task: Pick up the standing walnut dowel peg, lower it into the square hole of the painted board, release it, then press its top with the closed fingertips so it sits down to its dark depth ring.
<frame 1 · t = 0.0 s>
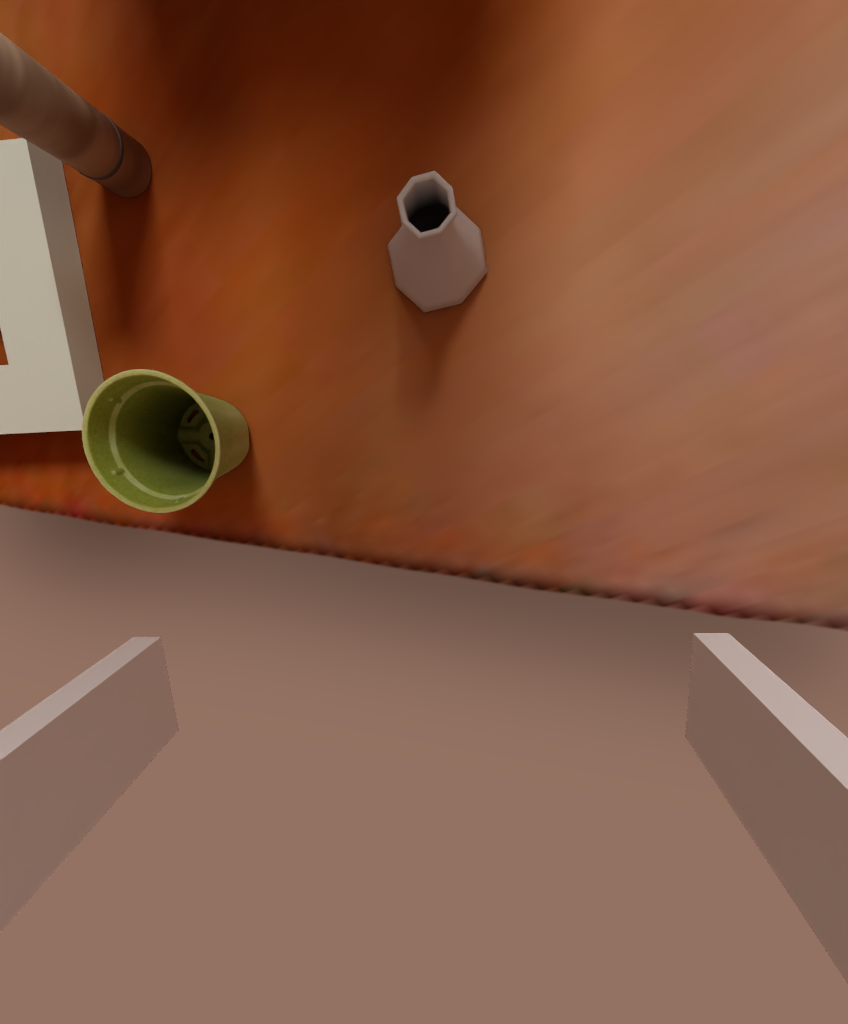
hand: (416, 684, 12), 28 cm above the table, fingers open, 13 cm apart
peg: (126, 167, 36), on the table
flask: (437, 260, 36), on the table
plant pot: (217, 434, 40), on the table
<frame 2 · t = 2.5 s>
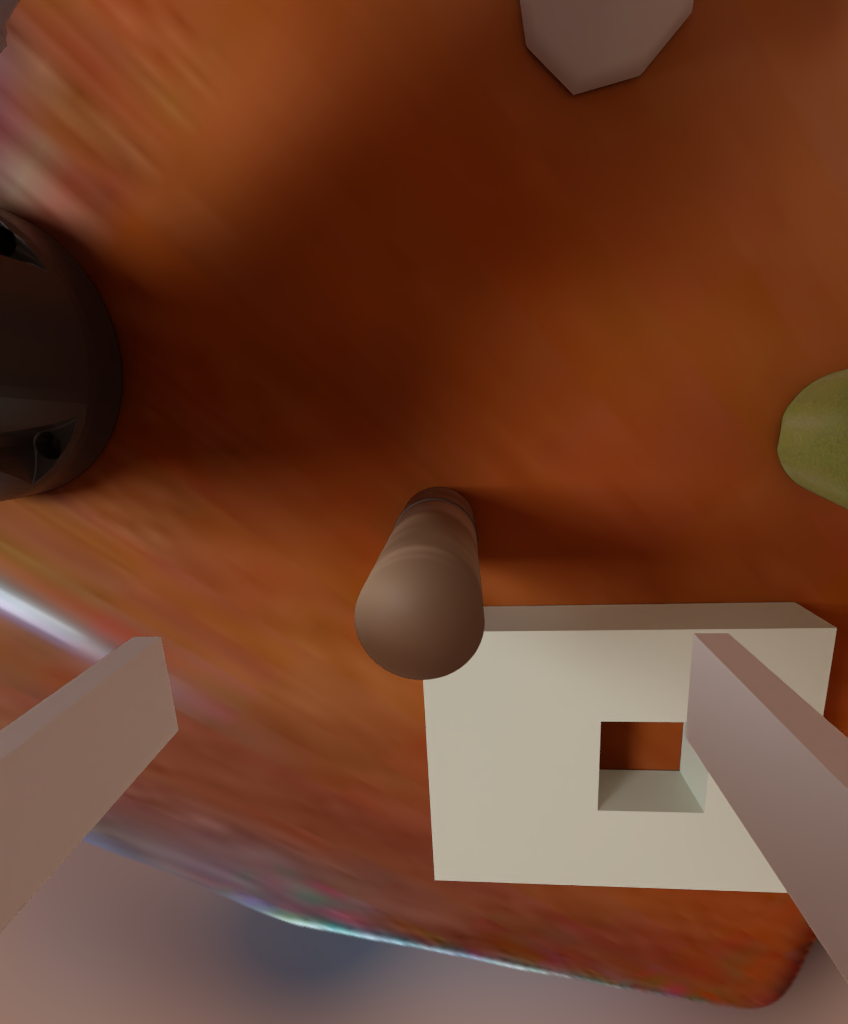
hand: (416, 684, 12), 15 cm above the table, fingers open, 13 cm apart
peg: (438, 522, 26), on the table
board: (599, 729, 28), on the table
plant pot: (835, 431, 24), on the table
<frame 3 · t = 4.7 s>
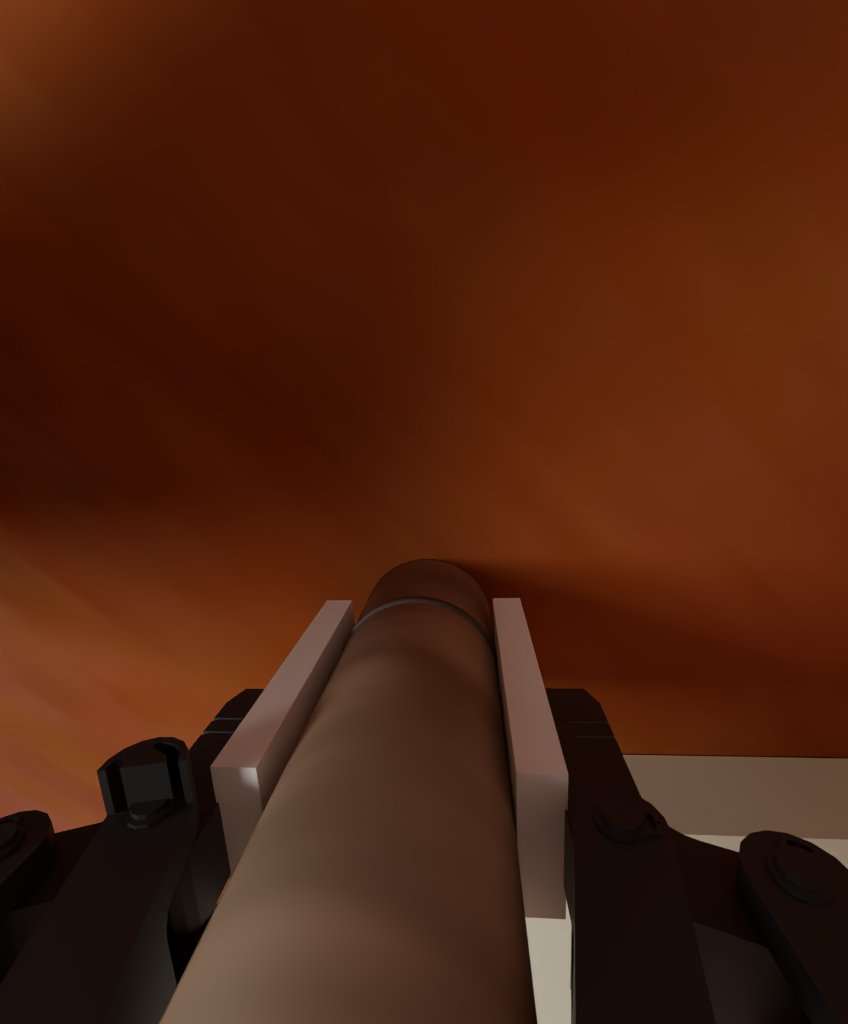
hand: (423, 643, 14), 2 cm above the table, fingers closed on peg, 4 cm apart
peg: (428, 618, 15), on the table, touching gripper
board: (690, 944, 17), on the table
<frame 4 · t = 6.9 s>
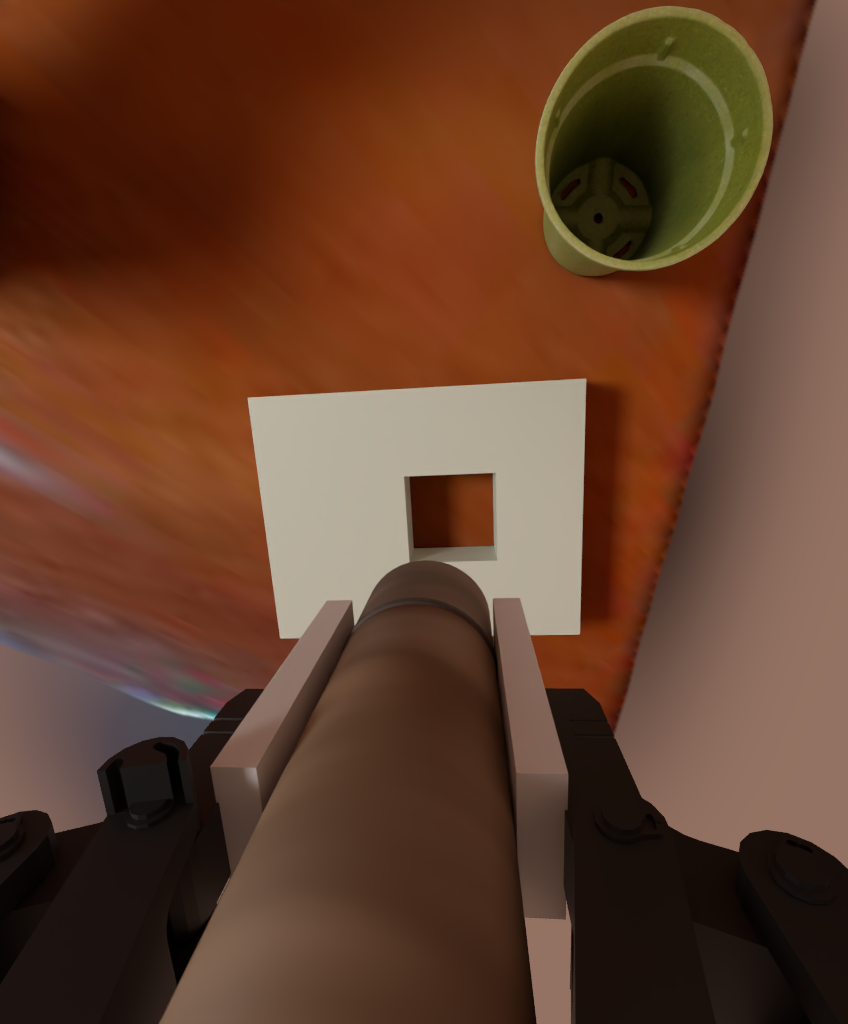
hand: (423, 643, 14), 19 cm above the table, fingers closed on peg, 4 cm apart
peg: (427, 619, 15), point 18 cm above the table, touching gripper
board: (423, 509, 33), on the table
plant pot: (593, 221, 28), on the table
when the fingers open (4 cm above the table, at t = 9.3 s): peg drops 2 cm, resting in board.
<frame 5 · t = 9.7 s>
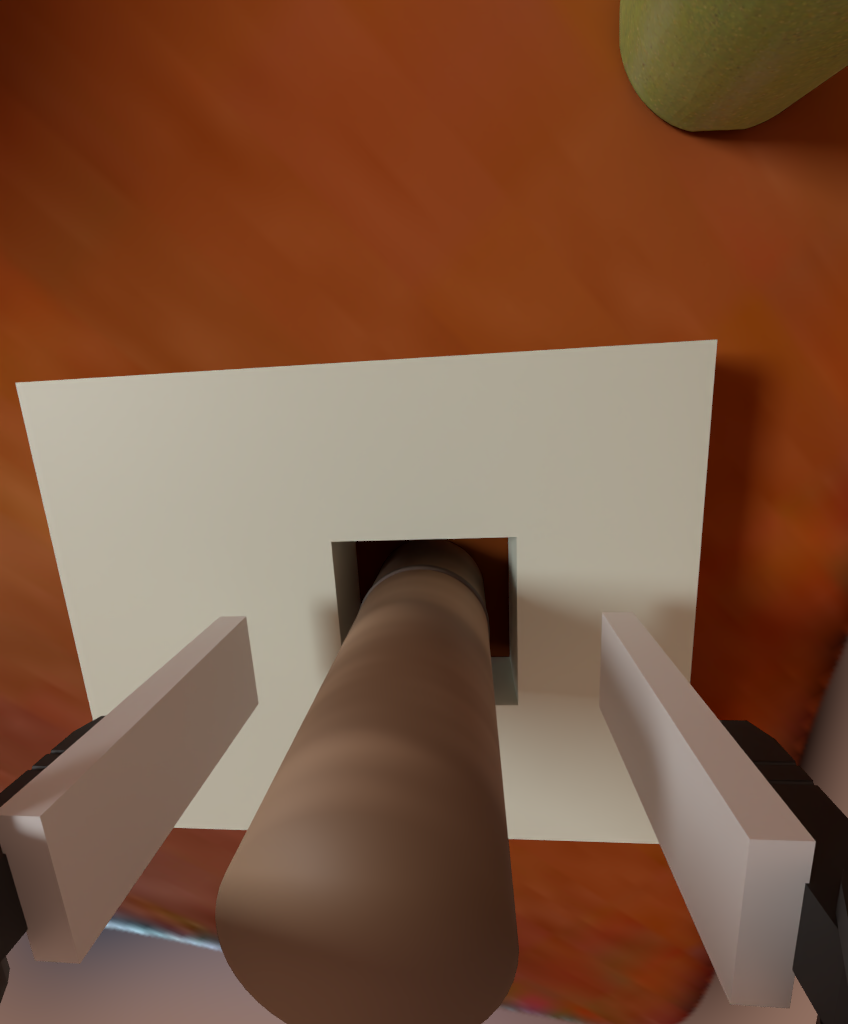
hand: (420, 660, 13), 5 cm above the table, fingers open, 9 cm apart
peg: (430, 589, 18), resting in board
board: (380, 589, 18), on the table
plant pot: (722, 17, 14), on the table
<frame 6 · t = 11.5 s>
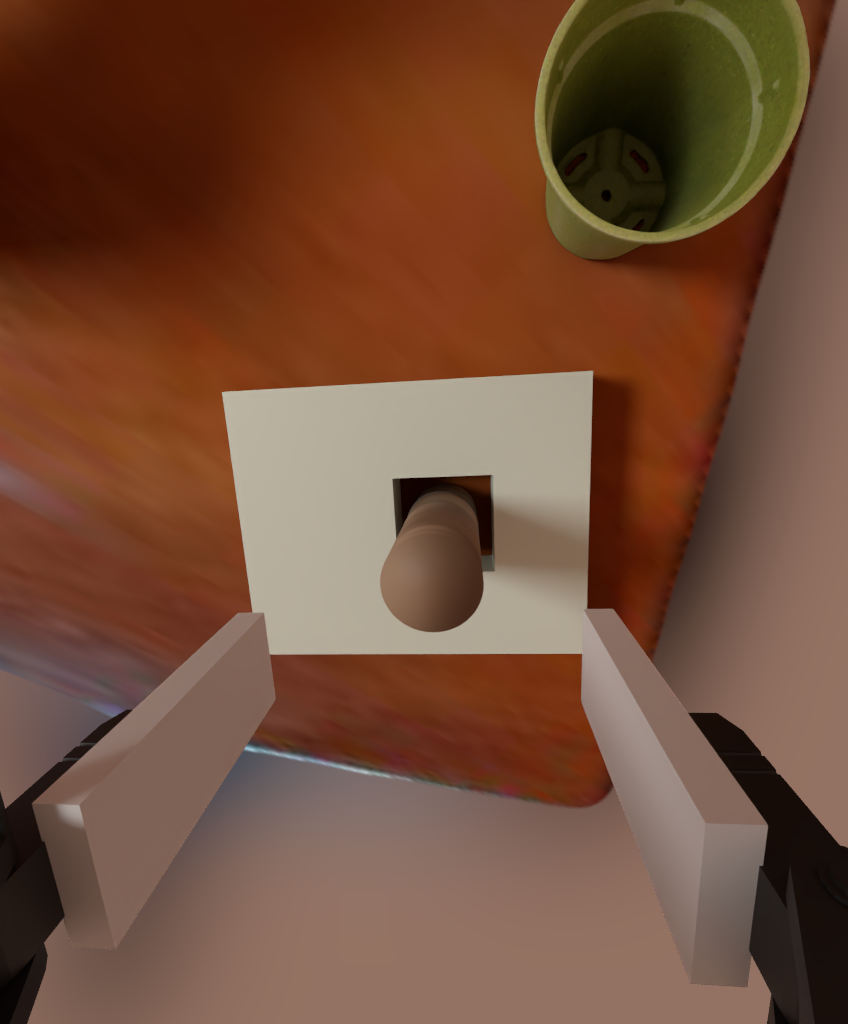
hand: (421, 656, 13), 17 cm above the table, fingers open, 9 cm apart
peg: (444, 513, 30), resting in board
board: (414, 514, 30), on the table
plant pot: (601, 199, 26), on the table
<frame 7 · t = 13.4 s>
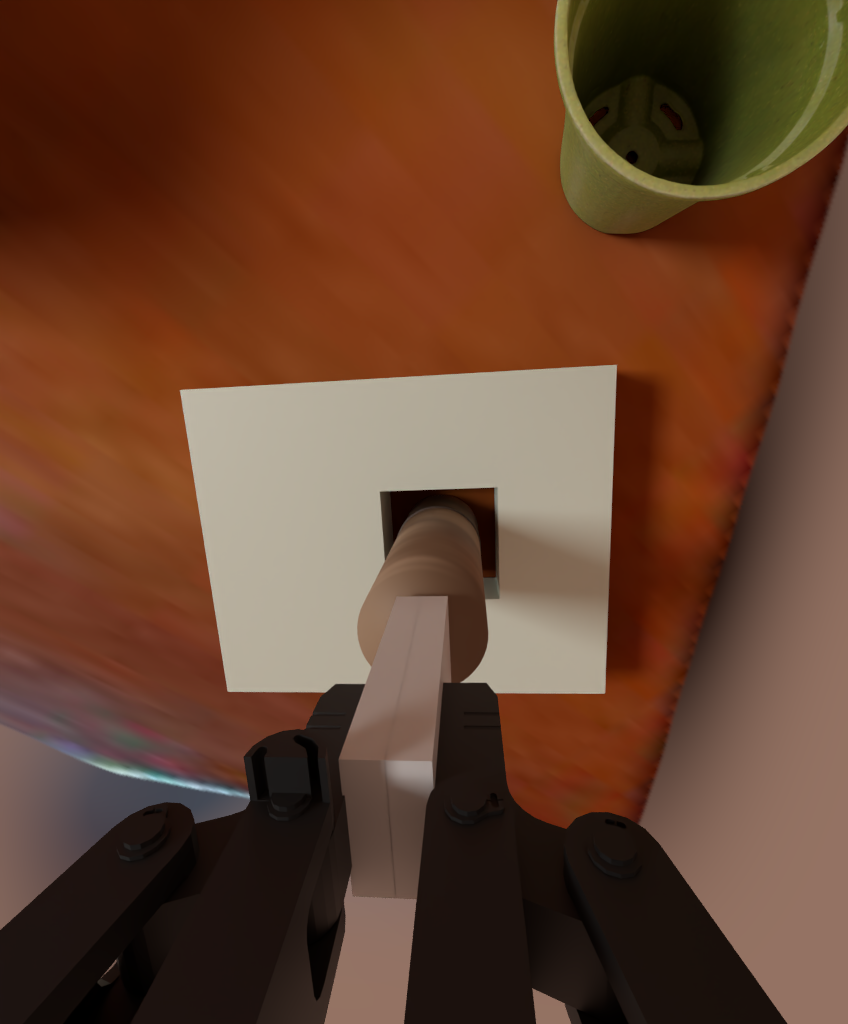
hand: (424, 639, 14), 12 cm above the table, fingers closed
peg: (441, 530, 26), resting in board
board: (407, 531, 26), on the table
plant pot: (625, 163, 22), on the table
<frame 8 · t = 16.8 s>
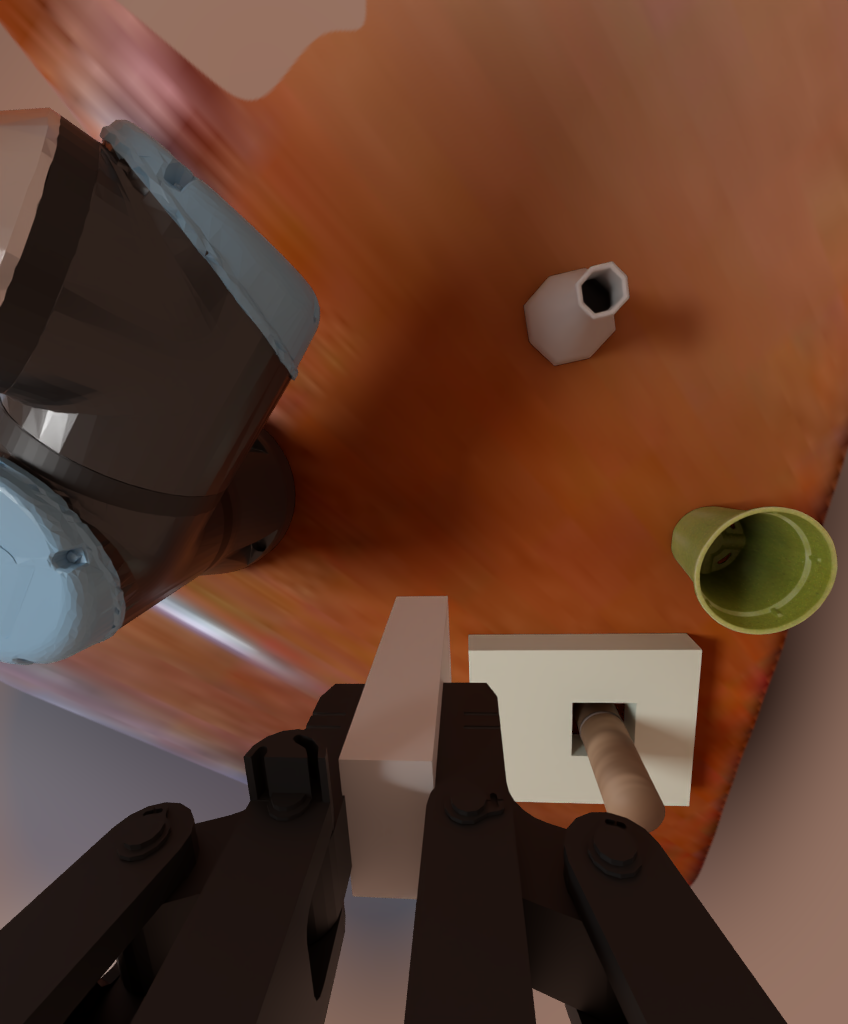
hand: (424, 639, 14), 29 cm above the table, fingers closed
peg: (593, 709, 46), resting in board
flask: (568, 318, 39), on the table
board: (573, 709, 47), on the table
plant pot: (704, 538, 42), on the table
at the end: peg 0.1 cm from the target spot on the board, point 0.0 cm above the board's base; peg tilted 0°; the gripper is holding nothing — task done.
